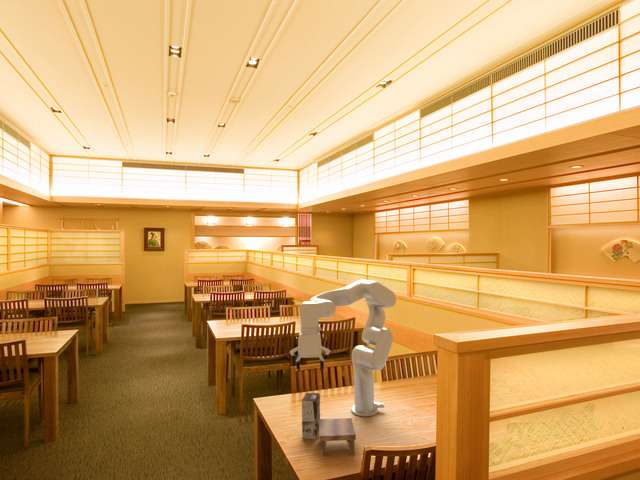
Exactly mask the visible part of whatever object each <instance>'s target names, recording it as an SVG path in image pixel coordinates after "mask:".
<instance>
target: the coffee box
mask: <svg viewBox="0 0 640 480" xmlns="http://www.w3.org/2000/svg"><path fill="white" fill-rule="evenodd" d="M320 397H321V393H320V392H306V393H305V394H304V396H303V398H302V399H301V435H302V436H301V438H302V439H308V440H317V439H318V437H319V419H321V399H320Z"/></svg>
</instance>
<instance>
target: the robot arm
mask: <svg viewBox="0 0 640 480" xmlns="http://www.w3.org/2000/svg"><path fill="white" fill-rule="evenodd" d="M362 299H364V300H365V302H366V304H367V307H368V316H367V319H366V321H365V325H364V328H363V330H362V333H361V340H362V341H363V342H364V343H365V344H367V345H363V344H361V345H360V344H359V345H356V346H355V347H354V348H353V349H352V352H351V362H352V366H353V367H352V368H353V382H354V383H353V384H354V385H353V387H354V390H353V391H354V396H353V397H354V404H353V405H352V406H351V413H352V414H353V415H355V416H359V417H373V416H375V415H377V413H378V409H382V408H383V409H384V408H385V403H382V402H381V401H375V387H374V385H375V382H374V381H375V375H374V374H375V373H374V371H381V370H382V369H383V368H384V367H385V365H386V363H387V360H388V358H389V355H390V351H391V349H392V345H393V343H394V336H393V332H392V330H391V329H389V328H388V327H384V325H385V322H386V312H385V309H384V308H386V309H391V308H393V307H394V306H395V305H396V303H397V295H396V293H394V291H393V290H392V289H390V288H388V287H387V286H385V285H383V284H382V283H380V282H379V281H377V280H370V279H369V280H368V279H359V280H356V281H355V282H352V283H350V284H348V285H346V286H343V287H341V288H338V289H333V290H329V291H325V292H322V293H320V294H318V295H314V296H313V297H311V298H310V299H309V300H306V301H303V302H301V303H300V332H299V333H298V343H297V346H296V347H294V348H292V349H290V351H289V355H291V358H292V359H293V360H294V361H295V362H296V365H295V366H296V369H297V371H298V372H300V370H301V361H300V360H301V358H304V359H305V358H307V359H308V358H310V359H311V358H319V366H320V368H319V369H320V370H319V371H321V372H322V371H323V369H324V368H325V366H324V365H325V364H324V363H325V361H326V359H327V358H328V356H329V354H330V353H331V349H329V348H328V347H324V346H323V345H322V338H321V337H322V336H321V333H320V331H322V329H323V328H322V327H320V326H319V318H330V317H332V316H333V315H334V314H335V313H336V309H337V308H336V307H347V306H350V305H352V304H354V303H356V302H358V301H360V300H362ZM368 345H370V346H368ZM371 346H374V347H371ZM296 352H297V355H295V353H296ZM322 352H325V353H324V355H322Z"/></svg>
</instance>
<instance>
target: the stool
mask: <svg viewBox="0 0 640 480" xmlns="http://www.w3.org/2000/svg"><path fill="white" fill-rule="evenodd" d="M318 437H319V442H320V448H321V449H320V451H321V453H320V454H321V456H322V457H323V456H324V457H325V456H327V442H333V441H335V442H337V441H338V442H339V441H349V442H348V450H349V451H348V452H349V456H352V455H353V456H354V455H355V441H356V439H357V434H356V430H355V426H354V422H353V419H352V417H351V418H350V417H349V418H347V417H346V418H320V419H319V434H318Z"/></svg>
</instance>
